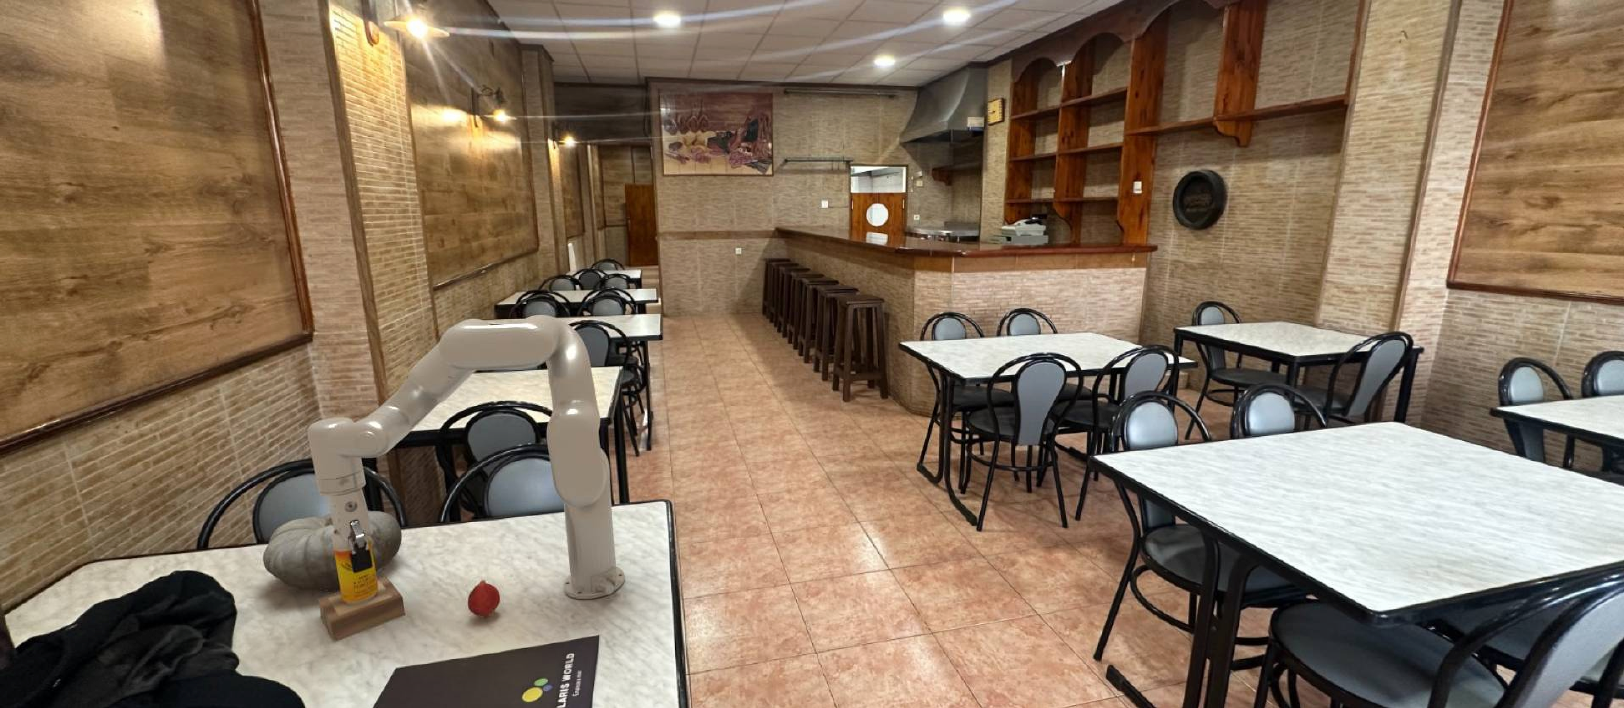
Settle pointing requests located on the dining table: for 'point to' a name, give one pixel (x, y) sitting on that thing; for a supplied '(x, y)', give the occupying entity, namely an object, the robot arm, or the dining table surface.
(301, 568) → the gourd
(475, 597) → the onion
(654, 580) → the dining table surface
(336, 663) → the dining table surface
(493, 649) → the dining table surface
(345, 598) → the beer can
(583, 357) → the robot arm
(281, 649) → the dining table surface
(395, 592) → the walnut plinth
